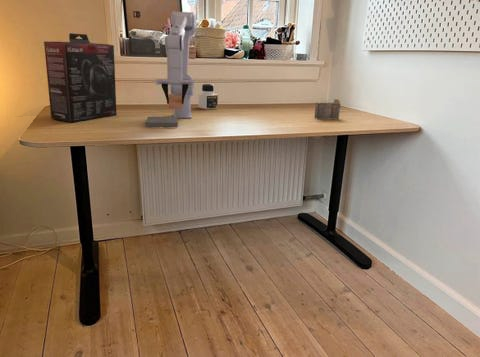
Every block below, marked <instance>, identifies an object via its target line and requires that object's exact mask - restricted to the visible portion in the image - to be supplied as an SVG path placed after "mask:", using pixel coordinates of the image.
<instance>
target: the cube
mask: <svg viewBox="0 0 480 357" xmlns="http://www.w3.org/2000/svg"><path fill="white" fill-rule="evenodd" d="M168 96H169V104H168V109H173V110H174V109H182V94H171V93H168Z"/></svg>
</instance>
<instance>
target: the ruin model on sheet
mask: <svg viewBox="0 0 480 357" xmlns="http://www.w3.org/2000/svg"><path fill="white" fill-rule="evenodd" d="M340 110H341V102H340V100H339V99H338V98H333V102H319V103H318V102H315V108H314V116H313V118H314V117H315V118H314V119H316V118H340Z"/></svg>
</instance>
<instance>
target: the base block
mask: <svg viewBox="0 0 480 357" xmlns="http://www.w3.org/2000/svg"><path fill="white" fill-rule="evenodd" d="M146 127H178V118H177V117H173V116H147V118H146V120H145V128H146Z"/></svg>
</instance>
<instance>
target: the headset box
mask: <svg viewBox="0 0 480 357" xmlns="http://www.w3.org/2000/svg"><path fill="white" fill-rule="evenodd" d="M78 37H80V38H78ZM68 40H69V41H43V46H44V55H45V57H44V58H45V66H46V77H47V78H46V79H47V88H48V97H49V99H48V101H49V107H50V119H52V120H58V121H63V122H66V123H75V122H81V121H87V120H94V119H101V118H107V117H108V118H109V117H113V116H117V96H116V95H117V94H116V92H117V91H116V70H115V69H116V68H115V67H116V66H115V46H114V44H107V43H96V42H95V43H94V42H90V39H89V36H88V34H87V33H85V34H84V33H71V32H70V33H69V35H68Z"/></svg>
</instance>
